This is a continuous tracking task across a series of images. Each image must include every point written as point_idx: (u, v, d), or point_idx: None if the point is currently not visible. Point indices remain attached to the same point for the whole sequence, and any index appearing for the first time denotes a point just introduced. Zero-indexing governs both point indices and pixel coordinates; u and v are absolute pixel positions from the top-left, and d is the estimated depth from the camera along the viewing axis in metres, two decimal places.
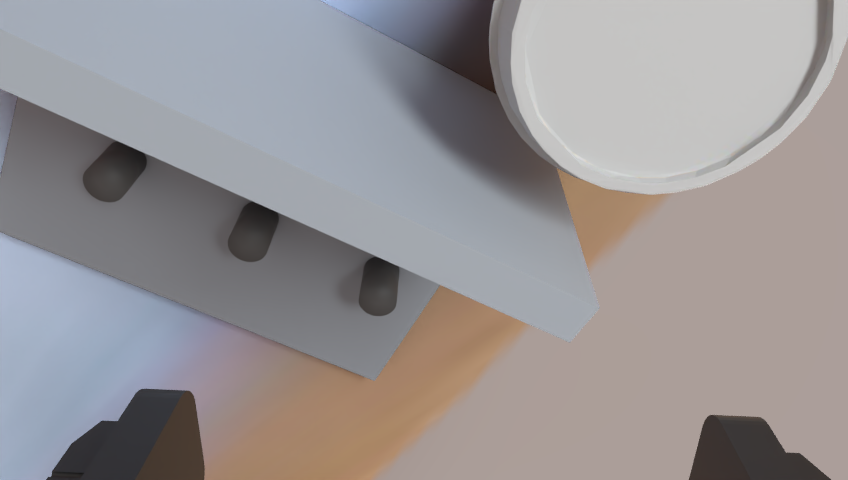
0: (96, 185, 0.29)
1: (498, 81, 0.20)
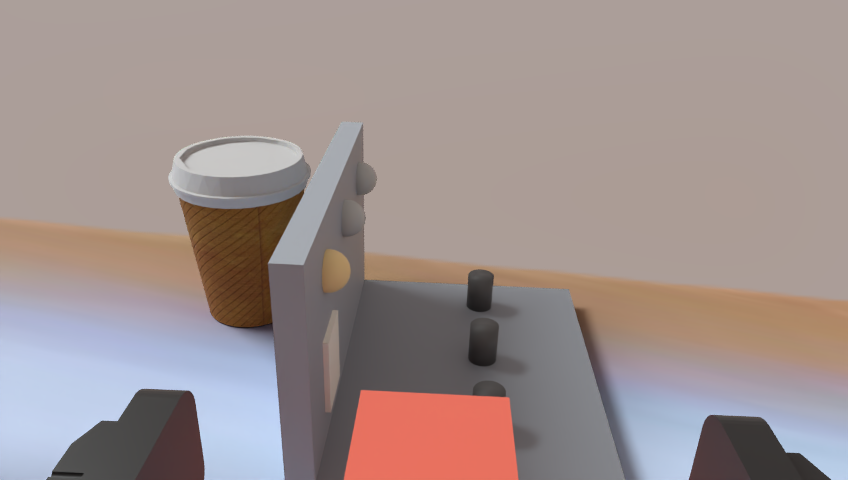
0: (494, 394, 0.37)
1: (276, 191, 0.45)
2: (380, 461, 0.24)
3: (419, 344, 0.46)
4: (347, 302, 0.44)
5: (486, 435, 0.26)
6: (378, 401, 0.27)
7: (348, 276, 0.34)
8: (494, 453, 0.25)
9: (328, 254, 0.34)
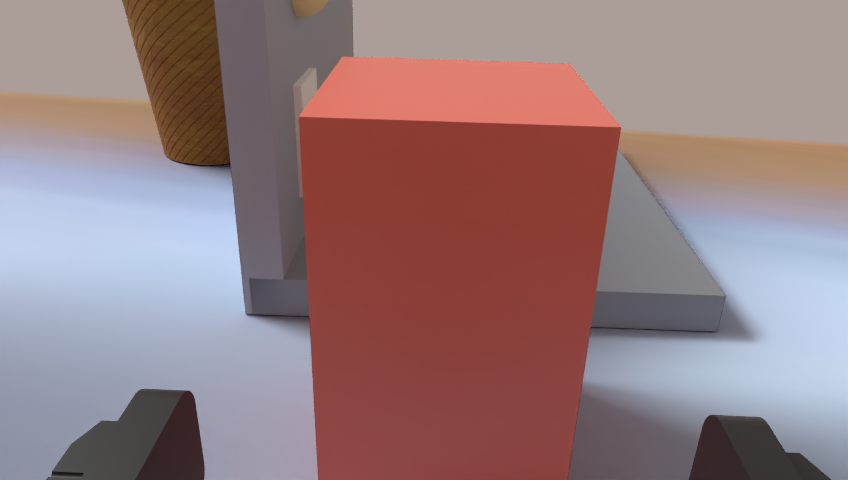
0: None
1: None
2: (371, 92, 0.15)
3: None
4: None
5: (541, 81, 0.16)
6: (369, 61, 0.18)
7: None
8: (557, 90, 0.15)
9: None
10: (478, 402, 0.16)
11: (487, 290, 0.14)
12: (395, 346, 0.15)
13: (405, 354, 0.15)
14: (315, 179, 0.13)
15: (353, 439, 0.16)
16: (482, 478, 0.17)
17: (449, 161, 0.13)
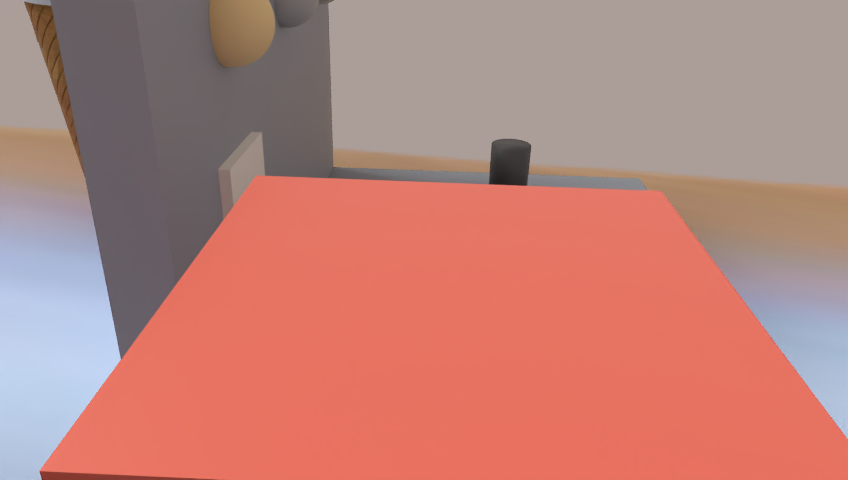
0: None
1: None
2: (273, 317, 0.07)
3: None
4: (294, 162, 0.26)
5: (628, 260, 0.08)
6: (299, 193, 0.10)
7: (269, 28, 0.17)
8: (672, 300, 0.07)
9: None
10: None
11: None
12: None
13: None
14: None
15: None
16: None
17: None
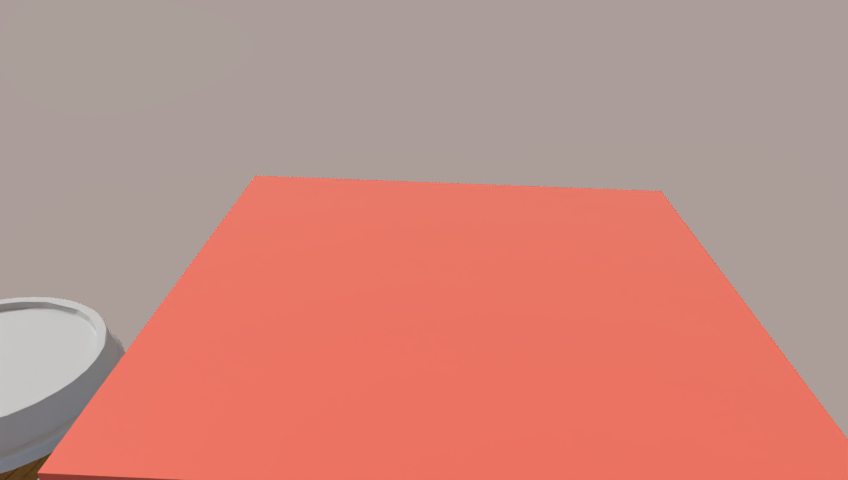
0: None
1: (28, 444, 0.23)
2: (273, 318, 0.07)
3: None
4: None
5: (628, 260, 0.08)
6: (298, 193, 0.10)
7: None
8: (672, 300, 0.07)
9: None
10: None
11: None
12: None
13: None
14: None
15: None
16: None
17: None
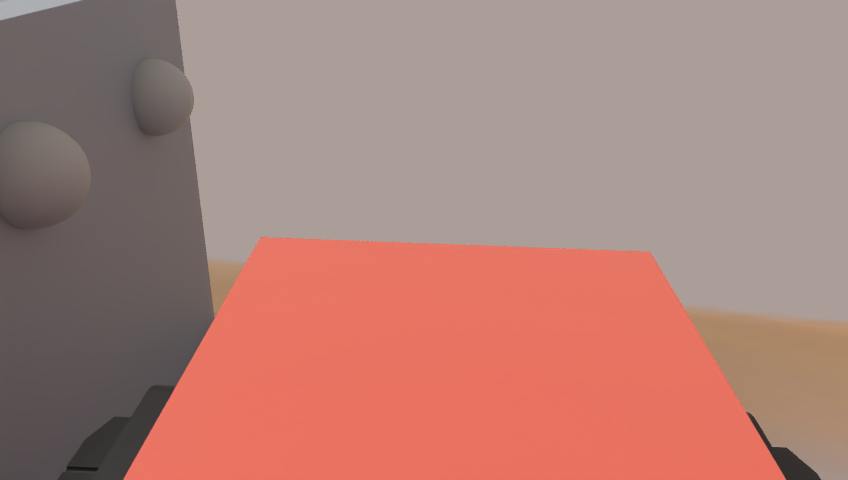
0: None
1: None
2: (280, 402, 0.07)
3: None
4: (90, 397, 0.17)
5: (617, 333, 0.08)
6: (303, 258, 0.10)
7: None
8: (658, 378, 0.08)
9: None
10: None
11: None
12: None
13: None
14: None
15: None
16: None
17: None
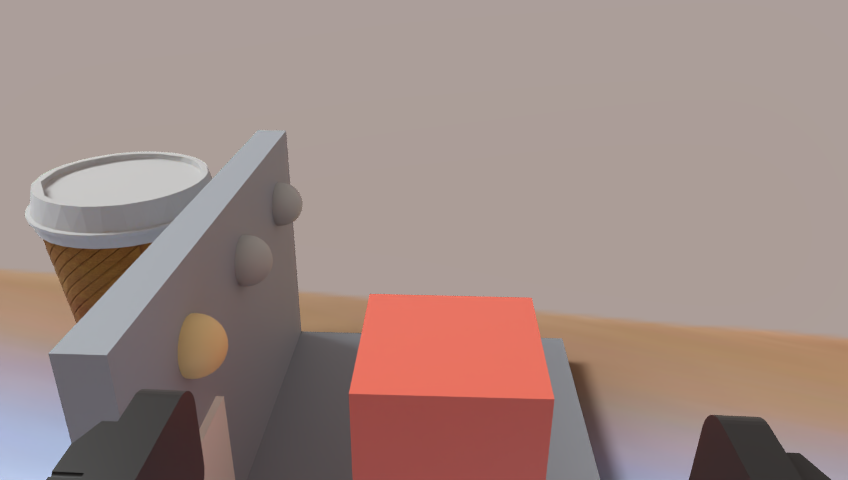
0: None
1: (164, 223, 0.33)
2: (393, 353, 0.22)
3: None
4: (258, 372, 0.32)
5: (509, 330, 0.23)
6: (389, 303, 0.25)
7: (222, 354, 0.23)
8: (519, 345, 0.23)
9: (189, 322, 0.23)
10: None
11: None
12: None
13: None
14: (359, 427, 0.21)
15: None
16: None
17: (445, 417, 0.20)
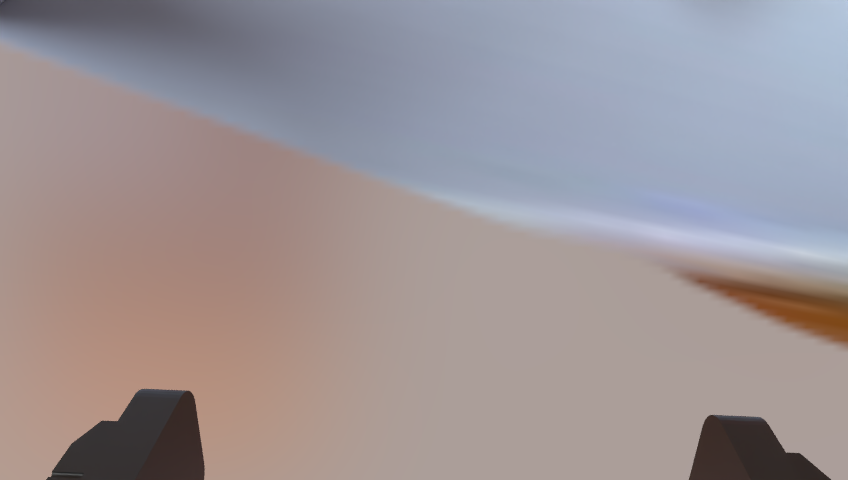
0: None
1: None
2: None
3: None
4: None
5: None
6: None
7: None
8: None
9: None
10: None
11: None
12: None
13: None
14: None
15: None
16: None
17: None
